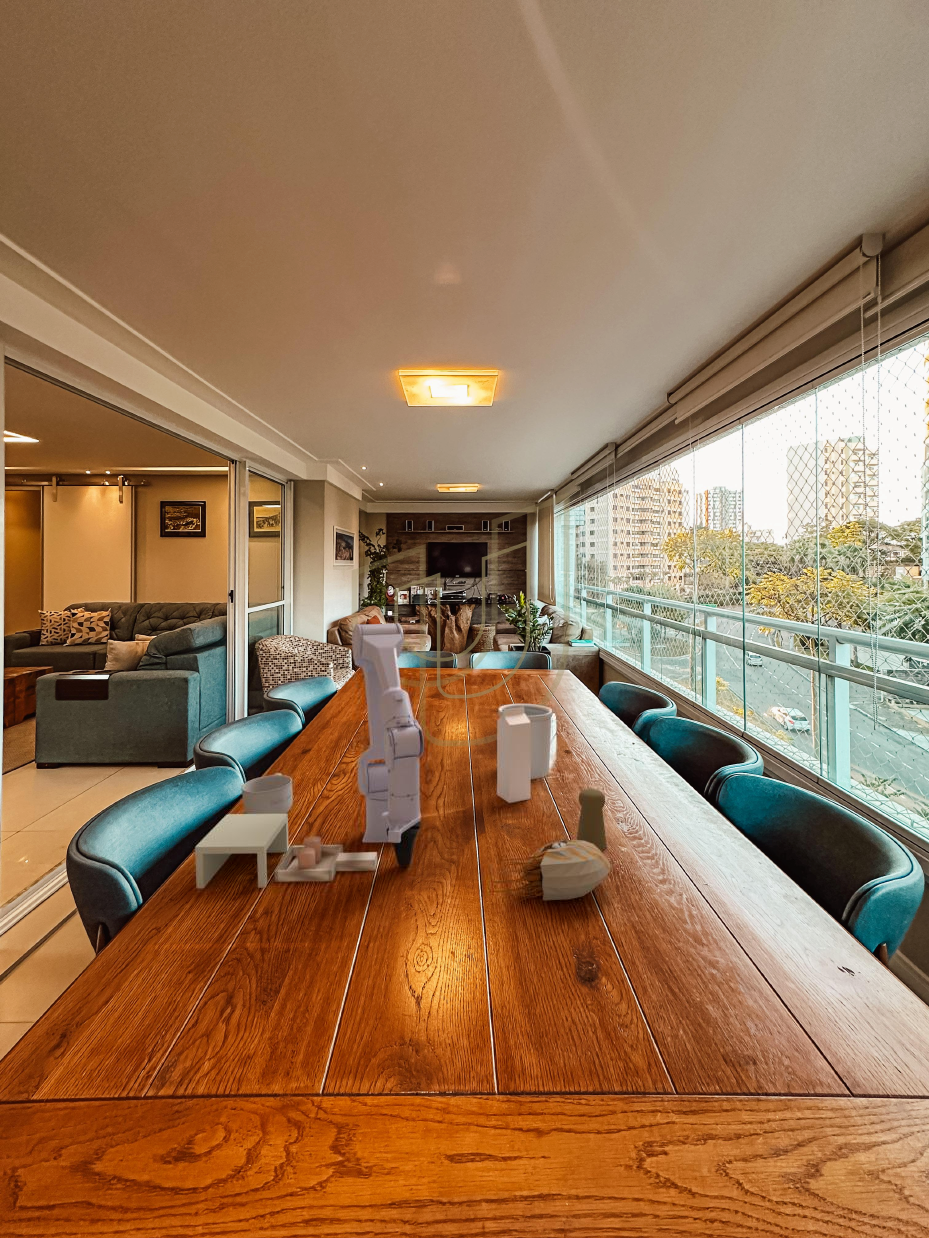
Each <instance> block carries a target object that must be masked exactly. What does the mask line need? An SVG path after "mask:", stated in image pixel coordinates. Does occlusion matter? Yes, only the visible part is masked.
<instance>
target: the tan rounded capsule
mask: <svg viewBox="0 0 929 1238" xmlns="http://www.w3.org/2000/svg"><path fill="white" fill-rule="evenodd" d="M304 845H305V848H313V849H315V862H316V864H317V863H319V862H321V861H322V851H321V845H322V838H321V837H320V836H309V837H307V838H305V839H304Z"/></svg>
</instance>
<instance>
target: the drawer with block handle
mask: <svg viewBox="0 0 929 1238" xmlns="http://www.w3.org/2000/svg"><path fill="white" fill-rule="evenodd" d="M303 848H305V844H304V845H289V846H288V851H287V852H285V854H284V856H283V857H282V859H281V860H280V862H279V863H278V865H277V867H276V869H275V870H274V882H275V883H277V882H333V880H334V878H335V876H336V873H337V872H362V871H363V872H365V871H366V872H369V871H374V872H375V871H376V868H377V865H378V852H377V851H373V852H372V851H369V852H365V851H363V852H344V844H321V851H322V861H321V862H319V863H317V864H316V869H298V851H299V850H301V849H303ZM293 858H294V859H293ZM292 859H293V860H292ZM291 861H292V862H291Z"/></svg>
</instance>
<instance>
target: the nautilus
mask: <svg viewBox="0 0 929 1238" xmlns="http://www.w3.org/2000/svg"><path fill="white" fill-rule="evenodd" d="M515 860H516V861H515ZM525 860H526V862H519V861H525ZM502 861H514V862H511V863H502V866H515V865H520V866H521V865H522V867H520V868H518V869H516V870H505V871H504V870H503V871H499V872H497V871H496V872H491V873H490V874H491V875H494V874H504V873H517V874H521V873H522V874H523V875H521V877H519V878H517V879H509V880H508V879H507V880H491V881H490V882H491V883H492V884H508V883H511V884H513V883H519V884H520V885H523V886H521V887H517V888H504V889H503V890H496V891H495V890H494V891H492V890H489V892H490V893H508V895H506V896H505V897H503V899H504V898H507V897H511V896H513V895H514V896H518V897H525V898H522V899H520V900H518V901H517V902H521V901H523V900H526V899H529V898H536V897H541V896H542V901H555V900H556V901H559V900H560V901H561V900H571V899H576V898H580V897H581V898H582V897H583V896H585V895H587V894H588V893H590V892H592V891H593V890H594V889H595V888H596V887H597V886H599V884H600V883H602V882H603V881H604V880H605V879H606V878H607V876H608V874H609V873H610V871H611V866H612V865H611V863H610V861H609V859H608V857H607V856H606V855H605V854H604V853H603V852H602V851H600V850H599V849H598V848H597V847H596V846H595V845H594V844H592V843H589V842H586V841H581V840H577V839H568V840H566V839H563V840H558V841H555V842H552V843H548V844H544V845H542V846H541V847H540V848H538V849H536V850H535V852H533V853H532V854H531V855H530V856H527V857H523V858H521V857H518V858H517V857H516V858H508V859H503V860H502ZM522 882H523V883H522ZM524 882H528V883H524ZM519 890H521V891H519ZM513 891H519V892H515V893H514V892H513ZM522 893H529V894H522ZM532 895H534V896H532Z"/></svg>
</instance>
